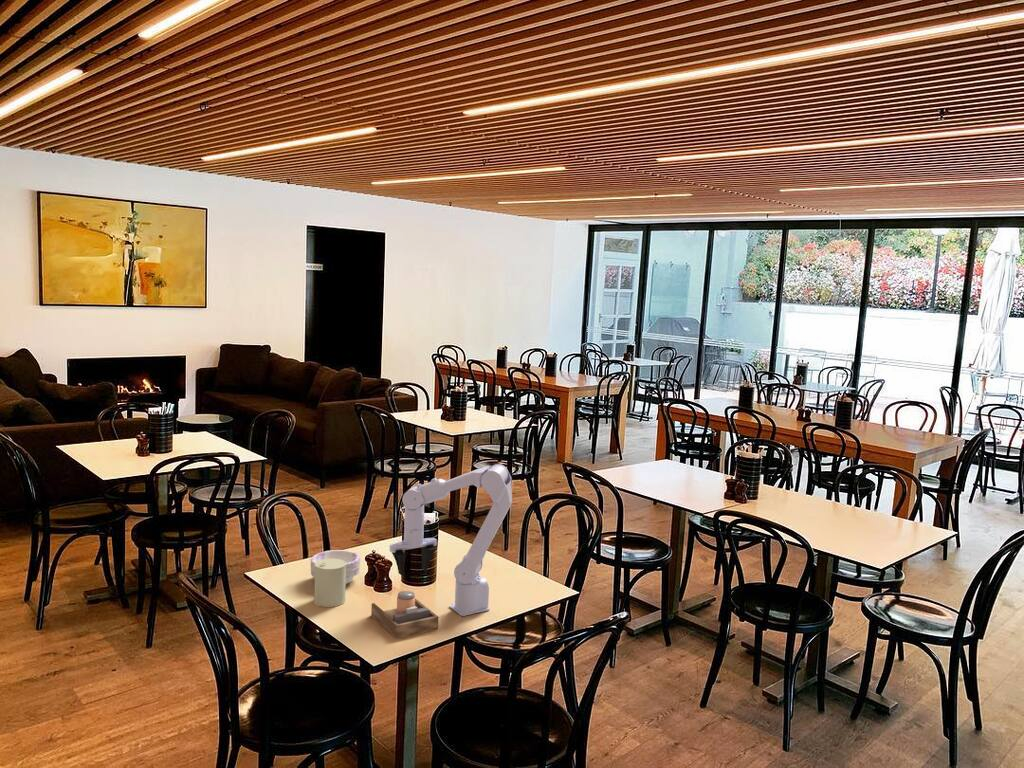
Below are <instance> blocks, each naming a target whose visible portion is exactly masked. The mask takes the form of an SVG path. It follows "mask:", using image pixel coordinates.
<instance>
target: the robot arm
mask: <svg viewBox="0 0 1024 768" xmlns="http://www.w3.org/2000/svg"><path fill="white" fill-rule="evenodd" d="M512 479H513V478H512V476H511V474H510V472H509V470H508V468H507V467H506V466H505V465H503V464H500V463H495V464H493V465H491V467H490V466H489V465H487V466H483V467H481V468H477V469H474V470H472V471H468V472H466V473H464V474H461V475H458V476H456V477H454V478H451V479H448V480H446V479H443V478H438V479H437V477H434V478H432V479H431V480H430V481H429V482H426V483H423V484H422V483H419V484H418V483H417V484H416V485H415V486H412V487H411V488H410V489H408V490H407V491H405V492H404V494H403V496H402V503H403V506H404V521H403V522H404V525H403V527H404V530H403V532H404V533H403V540H402V541H398V542H395V543H391V544H389V552H391V554H392V556H393V558H394V561H395V563H396V567H397V572H398V574H399V575H401V576H404V575H405V562H406V557H407V554H405V552H404V551H407V550H412V549H418V548H420V551H421V553H420V554H421V570H423V571H424V572H427V571H428V567H429V564H430V563H431V559H432V557H433V555H434V554H435V552H436V547H437V545H438V544H437V543H438V539H436V538H435V537H428V538H426V537H425V536H424V535H425V534H424V532H425V528H424V527H425V504H426V505H428V504H430V503H433V502H437V501H439V500H442V499H446V498H447V497H448V496H449V494H450V492H453V491H456V490H460V489H463V488H466V487H469V486H475V487H476V488H478V489H481V488H483V490H484V491H485V492H486V493H487V494H488V495H489V497H490V499H491V501H492V506H491V508H490V509H489V511H488V513H487V515H486V517H485V520H484V521H483V523H482V525H481V527H480V528H479V530H478V532H477V534H476V537H475V538H474V540H473V542H472V544H471V545H470V547H469V550H468V551H467V553H466V554H465V555H464V556H462V559H461V560H460V562H459V563H458V564H457V565H455V568H454V572H453V575H454V578H455V594H454V603H451V604H449V606H448V607H449V608H450V609H452V610H453V611H454V612H456V614H459V615H460V616H462V617H464V616H469V615H473V614H478V613H483V612H487V611H490V607H489V599H490V598H489V597H490V596H489V595H490V591H489V590H490V587H489V583H488V581H487V579H486V578H485V577H483V576H480V573H479V572H480V571H481V570H482V568H483V560H484V558H485V555H486V553H487V550H488V549H489V547H490V545H491V544H492V541H493V539H494V538H495V536H496V534H497V533H498V531H499V529H500V526H501V525H502V523H503V521H504V519H505V517H506V515H507V513H508V511H509V510H510V508H511V506H512V504H513V491H512ZM424 537H425V538H424Z"/></svg>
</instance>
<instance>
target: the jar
mask: <svg viewBox="0 0 1024 768" xmlns="http://www.w3.org/2000/svg"><path fill="white" fill-rule="evenodd" d="M396 598H397V599H396V608H397V613H401V612H406V608H409V607H414V606H415V599H416V595H415V592H414V591H412V590H411V591H410V590H402V591H399V592H397V596H396Z"/></svg>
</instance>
